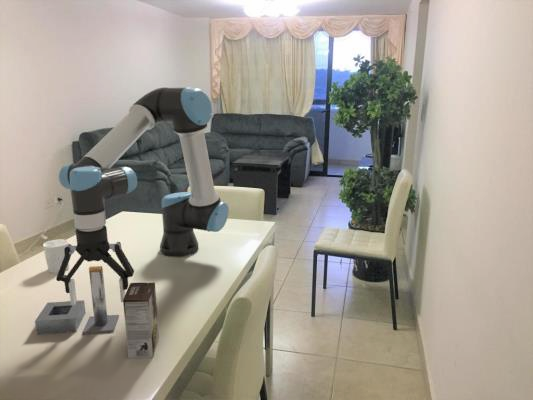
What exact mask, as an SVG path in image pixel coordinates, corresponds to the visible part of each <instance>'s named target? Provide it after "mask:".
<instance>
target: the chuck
mask: <svg viewBox="0 0 533 400" xmlns="http://www.w3.org/2000/svg"><path fill="white" fill-rule="evenodd" d="M85 315H86V305H85V300H84V299H83V300H77V301H76V303H75V305H71V300H68V301H67V300H66V301H53V302H52V301H51V302H47V303H46V304H45V306H44V307H43V308H42V310H41V311H40V313H39V314H38V316H37V317H36V318H35V321H34V323H35V324H34V325H35V330H36V331H35V332H36V335H46V334H48V335H49V334H63V333H77V332H78V329H79V327H80V325H81V323H82V320H83V319H84V317H85Z"/></svg>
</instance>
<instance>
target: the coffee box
mask: <svg viewBox="0 0 533 400" xmlns="http://www.w3.org/2000/svg"><path fill="white" fill-rule="evenodd" d="M122 305H123V313H124V315H123V316H124V325H125V335H126V347H127V357H128V359H145V358H146V359H149V358H151V359H152V358H154V357H155V353H156V349H157V346H158V342H159V338H160V331H159V320H158V306H157V292H156V282H141V281H140V282H130V283H129V284H128V288H127V290H126V291H125V297H124V299H123V302H122Z"/></svg>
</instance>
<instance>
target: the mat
mask: <svg viewBox="0 0 533 400" xmlns="http://www.w3.org/2000/svg"><path fill="white" fill-rule="evenodd" d="M119 317H120V315H119V314H110V315H108V314H107V318H108V323H107V324H106V325H104V326H96V325H95V321H94V315H93V316H91V315H90V316H89V317H88V319H87V321H86V324H85V325H84V328H83V329H82V335H88V334H102V333H113V332H115V329H116V325H117V323H118V321H119Z"/></svg>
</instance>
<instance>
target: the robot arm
mask: <svg viewBox="0 0 533 400" xmlns="http://www.w3.org/2000/svg"><path fill="white" fill-rule="evenodd" d="M212 107H213V106H212V103H211V100H210V98H209V95H208V94H207V93H206V92H205V91H203V90H202V89H200V88H196V87H195V88H193V87H189V86H188V87H159V88H156V89H153V90H151V91H149V92H147V93H146V94H144V95H143V96H141V97H140V98H139V99H138V100H136V102H134V103H133V104H132V105H131V106H130V107H129V109H128V113H127V114H126V116H124V117H123V118H122V119H121V120H120V121H119V122H118V123H117V124H116V125H115V126H114V127H113V128H112V129H111V130H110V131H109V132H108V133H107V134H106V135H104V137H103V138H101V139H100V140H99V141H98V143H97V144H95V145H94V146H93V147H92V148H91V149H90V150H89V151H88V152H87V153H86V154H85V155H84V156H83V157H82V158H80V160H79V161H77V162H76V163H67V164H64V165H63V166H62V167H61V169H60V170H59V173H58V180H59V182H60V185H61V186H62V187H63V188H64V189H66V190H70V195H71V196H70V197H71V203H72V211H73V220H74V221H73V222H74V227H75V228H76V229H75V238H76V245H72V243H71V244H70V243H68V245H67V246H66V247H65V249H64V253H65V256H64V259H63V261H62V264H61V267H60V270H59V272H58V273H57V275H56V278H55V280H56V281H57V282H63V283H64V287H65V288H64V289H65V292H66V294H69V298H70V299H69V300H70V301H71V305H75V303H76V301H78V298H77V292H76V291H77V289H76V284H75V283H76V282H75V278H73V276H74V275H75V273H76V272H77V270H79V268H80V266H81V265H82V264H83V263H84V261H87V262H93V261H94V262H101V261H102V262H104V263H105V264H107V266H109V267H110V269H112V271H113V272H115V273H116V274H117V275H118V277H119V279H118V282H119V285H118V286H119V293H120V302H121V303H123V299H124V297H125V294H126V291H127V290H128V287H129V278H132V277H133V276H134V274H135V270H134V268H133V266H132V264H131V262H130V261H129V260H128V258H127V256H126V254H125V253H124V251H123V249H122V244H121V242H120V241H117V242H116V243H110V242H109V239H108V238H109V237H108V229H107V226H106V224H107V219H106V208H105V207H106V206H105V201H107V200H111V199H115V198H117V197H121V196H125V195H127V194H129V193H132V192H133V191H134V190H135V189H136V188H137V186H138V177H137V174H136V172H135V171H134V169H132V168H131V167H130V166H129V167H128V166H118V167H116V168H112V167H113V165H114V164H116V162H117V161H118V160H120V158H121V157H122V156H124V154H125V153H126V152H127V150H129V149H130V148H131V147H132V146H133V144H134V143H135V142H137V140H138V139H139V138H140V137H141V136H142V135H143V134H144V133H145V132H146V131H147V130H152V129H153V128H154V127H155V126H156V125H158V124H161V123H162V124H163V123H167V124H171V126H172V130H173V133H175V134H177V135H178V137H179V141H180V142H179V143H180V146H181V150H182V155H183V160H184V165H185V169H186V175H187V178H188V183H189V184H188V185H189V188H190V191H182V192H174V193H168V194H167V195H165V196H163V197H162V198H161V213H162V214H161V215H162V227H163V234H162V237H161V241H160V245H159V253H161V254H162V255H164V256H166V257H171V258H173V257H176V258H179V257H186V256H191V255H194V254H195V253H196V252H198V251H199V242H198V239H197V236H196V234H195V231H194V230H200V231H206V232H209V233H210V232H211V233H212V232H214V233H218V232H220V231H221V230H222V229H223V228H224V227H225V225H226V223H227V221H228V218H229V205H228V203H227V202H225V201H221V196H220V195H221V194H220V193H219V192H218V191H216V190H215V185H214V180H213V179H214V178H213V174H212V168H211V163H210V157H209V153H208V146H207V140H206V134H205V131H206V129H207V128H208V123H209V122H210V121H211V118H212V113H213V108H212ZM110 250H111V251H112V252H113V253H114V254H115V256H116V257H117V259H118V261H119V263H120V264H121V265H120V264H119V263H118V262H117V261H116V259H114V258H113V257H112V255H111V254H110V253H109V251H110ZM75 251H76V253H77V254H78V255H79V256H80V257H79V258H78V259H77V261H76V262H75V264H74V265H73V267H72V268H71V269H70V271H68V274H65V273H66V271H67V270H66V268H67V266H68V263H69V264H70V260H71V256H72V255H73V254H74V253H75Z"/></svg>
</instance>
